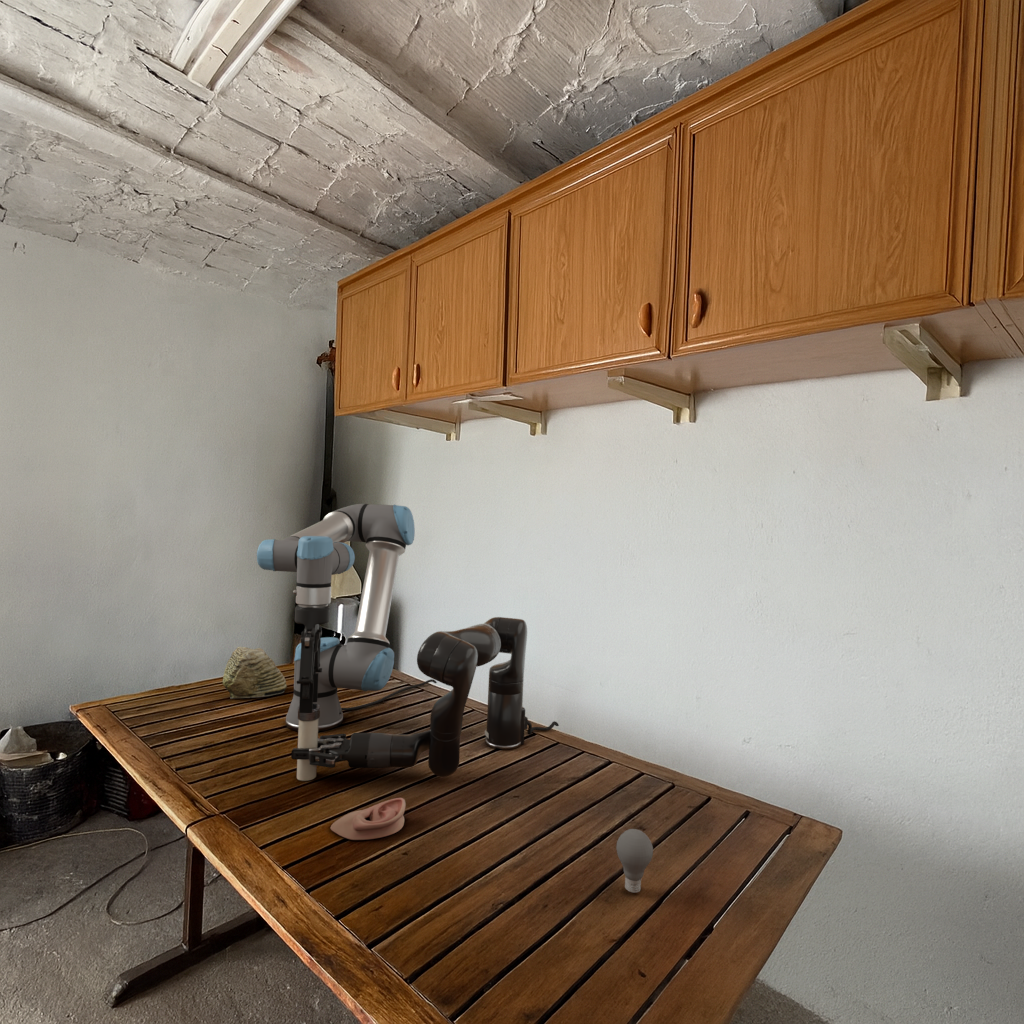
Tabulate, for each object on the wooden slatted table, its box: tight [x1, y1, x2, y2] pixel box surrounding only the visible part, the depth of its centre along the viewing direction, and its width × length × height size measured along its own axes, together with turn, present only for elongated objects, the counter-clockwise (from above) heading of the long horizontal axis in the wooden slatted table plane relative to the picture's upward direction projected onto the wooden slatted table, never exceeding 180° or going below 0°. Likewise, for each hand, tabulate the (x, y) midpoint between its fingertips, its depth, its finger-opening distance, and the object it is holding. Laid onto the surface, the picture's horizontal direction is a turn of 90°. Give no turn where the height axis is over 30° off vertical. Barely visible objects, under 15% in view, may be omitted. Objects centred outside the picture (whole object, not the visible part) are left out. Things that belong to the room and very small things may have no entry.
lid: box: [298, 703, 320, 721], centre depth 143 cm, size 5×5×2 cm
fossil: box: [222, 646, 288, 699], centre depth 198 cm, size 9×18×15 cm, turn 132°
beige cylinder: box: [296, 718, 319, 782], centre depth 143 cm, size 4×4×16 cm
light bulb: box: [615, 828, 654, 894], centre depth 106 cm, size 6×6×10 cm
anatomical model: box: [330, 797, 407, 841], centre depth 123 cm, size 13×4×12 cm
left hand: (308, 706), depth 142 cm, fingers open, 7 cm apart
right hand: (295, 749), depth 143 cm, fingers closed on beige cylinder, 4 cm apart
